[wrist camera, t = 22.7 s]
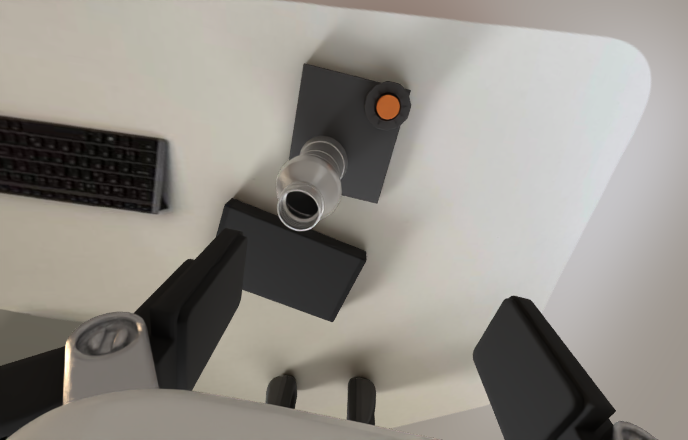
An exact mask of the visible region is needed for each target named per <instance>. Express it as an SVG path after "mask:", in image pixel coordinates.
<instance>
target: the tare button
mask: <svg viewBox="0 0 688 440" xmlns="http://www.w3.org/2000/svg"><path fill="white" fill-rule="evenodd" d="M376 109H377V112H378V114H379V115H380V117H382V118H384V119H392V118H394V117H395V116H396V115H397V114H398V112H399V109H400V104H399V101H398V99H397V98H396V97H394V96H392V95H384V96H382V97H381V98H380V99H379V100H378V102H377V105H376Z"/></svg>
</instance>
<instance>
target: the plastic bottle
mask: <svg viewBox="0 0 688 440" xmlns="http://www.w3.org/2000/svg"><path fill="white" fill-rule="evenodd" d="M347 165H348V159H347V155H346V152H345V150H344V148H343V147H342V145H341V144H340V143H339V142H338V141H336V140H335V139H333V138H331V137H327V136H317V137H314V138H312V139H310V140H308V141H307V142H306V143H305V144H304V146H303V147H302V149H301V152H300V156H296V157H294V158H292V159H291V160H289V161H288V162H287V163H285V164H284V165H283V167H282V168H281V169H280V171H279V174H278V176H277V181H276V191H277V197H278V199H279V200H278V204H277V212H278V215H279V218H280V219H281V221H282V222H283V223H284V224H285V225H286V226H287V227H289V228H290V229H293V230H296V231H306V230H309V229H311V228H313V227H314V226H315V225H316V224H317V223H318V221H319V220H321V219H323V218H325V217H327V216H328V215H330V214H331V213H332V212H333V211H334V210H335V209H336V208H337V206H338V204H339V202H340V199H341V192H342V187H341V179H342V177H343V176H344V174H345V173H346V170H347Z"/></svg>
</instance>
